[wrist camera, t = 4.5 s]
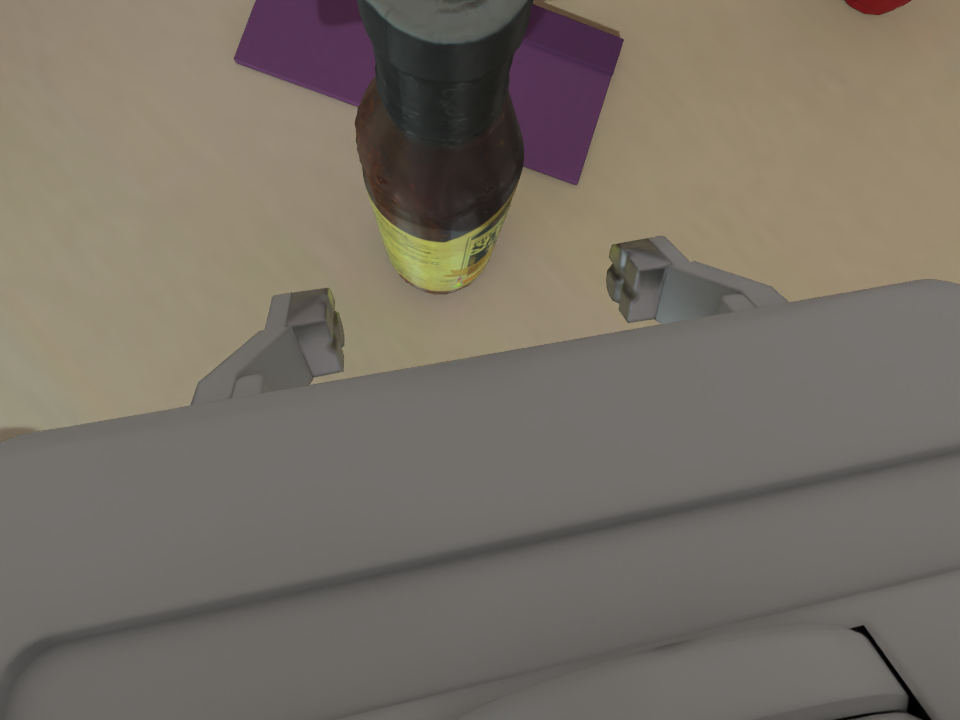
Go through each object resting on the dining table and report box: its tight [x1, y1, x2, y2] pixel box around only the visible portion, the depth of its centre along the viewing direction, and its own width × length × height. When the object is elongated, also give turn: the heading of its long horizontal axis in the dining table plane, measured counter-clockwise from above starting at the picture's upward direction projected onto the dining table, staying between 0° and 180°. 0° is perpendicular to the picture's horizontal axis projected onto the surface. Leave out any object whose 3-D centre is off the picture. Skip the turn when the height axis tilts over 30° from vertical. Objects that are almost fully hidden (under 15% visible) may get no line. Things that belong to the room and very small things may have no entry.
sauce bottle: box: [355, 0, 533, 294], centre depth 20 cm, size 7×6×20 cm
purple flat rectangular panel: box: [234, 0, 624, 185], centre depth 30 cm, size 22×10×1 cm, turn 72°
